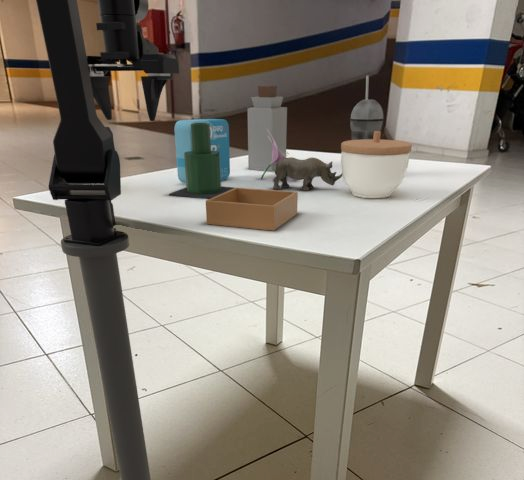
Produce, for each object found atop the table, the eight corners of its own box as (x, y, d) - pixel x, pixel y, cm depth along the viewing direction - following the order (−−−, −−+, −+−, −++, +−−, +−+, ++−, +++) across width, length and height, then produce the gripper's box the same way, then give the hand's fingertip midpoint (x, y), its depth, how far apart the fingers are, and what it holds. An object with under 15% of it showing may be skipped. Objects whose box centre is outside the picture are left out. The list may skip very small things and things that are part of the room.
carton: (274, 230, 72) (274, 206, 71) (206, 224, 76) (205, 200, 74) (297, 213, 81) (297, 191, 79) (236, 208, 85) (235, 187, 83)
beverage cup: (384, 174, 114) (394, 75, 104) (366, 179, 109) (376, 75, 99) (357, 171, 118) (365, 75, 108) (339, 175, 113) (346, 75, 104)
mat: (216, 199, 91) (215, 197, 91) (168, 195, 94) (168, 193, 94) (238, 189, 99) (237, 187, 99) (193, 186, 103) (193, 184, 103)
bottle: (211, 195, 93) (208, 125, 87) (181, 192, 95) (175, 124, 89) (226, 188, 98) (224, 122, 93) (197, 186, 101) (192, 121, 95)
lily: (280, 191, 103) (303, 147, 100) (234, 164, 105) (256, 120, 102) (296, 198, 114) (317, 159, 111) (254, 173, 116) (274, 134, 113)
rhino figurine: (341, 192, 97) (343, 159, 94) (271, 190, 99) (272, 158, 96) (341, 188, 100) (344, 156, 97) (274, 186, 102) (274, 155, 99)
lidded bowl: (363, 185, 102) (368, 127, 97) (417, 194, 94) (427, 131, 89) (324, 194, 94) (327, 131, 89) (380, 205, 87) (387, 136, 81)
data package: (193, 185, 101) (189, 121, 96) (177, 183, 103) (173, 120, 98) (230, 178, 110) (229, 119, 104) (215, 176, 112) (212, 118, 107)
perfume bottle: (271, 171, 119) (272, 86, 110) (248, 168, 122) (247, 86, 113) (285, 167, 124) (287, 85, 115) (263, 165, 127) (262, 85, 118)
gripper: (191, 18, 85) (197, 118, 93) (102, 23, 91) (114, 116, 99) (156, 12, 76) (166, 122, 84) (59, 17, 82) (77, 120, 90)
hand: (130, 120), depth 89 cm, fingers open, 9 cm apart
